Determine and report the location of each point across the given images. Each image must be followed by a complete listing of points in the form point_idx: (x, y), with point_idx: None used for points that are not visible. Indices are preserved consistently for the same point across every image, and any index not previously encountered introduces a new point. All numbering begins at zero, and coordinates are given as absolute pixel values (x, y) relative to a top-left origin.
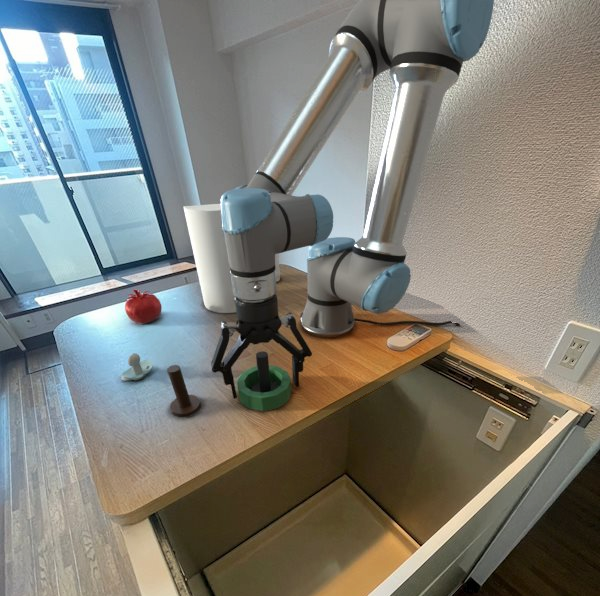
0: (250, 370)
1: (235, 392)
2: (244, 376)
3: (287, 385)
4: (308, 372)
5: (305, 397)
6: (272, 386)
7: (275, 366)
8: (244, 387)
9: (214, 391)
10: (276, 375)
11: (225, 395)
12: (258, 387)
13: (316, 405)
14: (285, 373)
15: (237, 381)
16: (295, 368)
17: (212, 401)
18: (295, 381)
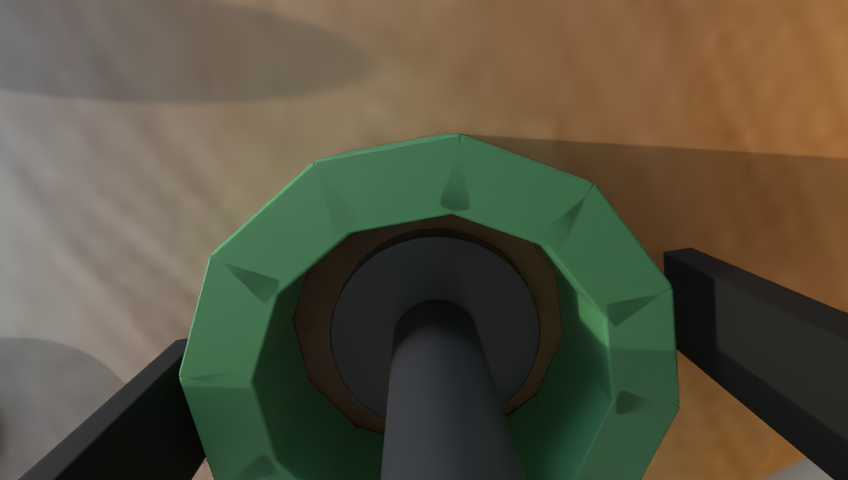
0: (296, 227)
1: (201, 459)
2: (245, 324)
3: (635, 474)
4: (799, 97)
5: (696, 388)
6: (490, 308)
7: (564, 183)
8: (266, 470)
9: (44, 272)
10: (547, 253)
11: (141, 323)
12: (381, 310)
13: (744, 462)
14: (648, 311)
15: (188, 391)
16: (823, 466)
17: (64, 376)
18: (699, 362)
